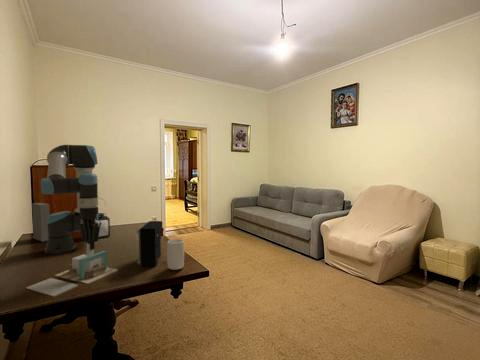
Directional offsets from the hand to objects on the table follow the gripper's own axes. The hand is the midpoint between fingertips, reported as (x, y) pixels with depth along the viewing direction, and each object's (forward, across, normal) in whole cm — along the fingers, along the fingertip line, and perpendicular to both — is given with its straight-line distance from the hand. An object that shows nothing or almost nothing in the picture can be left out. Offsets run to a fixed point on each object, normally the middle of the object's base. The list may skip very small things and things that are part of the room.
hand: (90, 256), depth 123 cm
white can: (+9, +33, +21) cm, 40 cm away
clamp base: (+9, -3, 0) cm, 9 cm away
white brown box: (+8, -3, 0) cm, 9 cm away
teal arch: (+9, +2, 0) cm, 9 cm away
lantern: (+9, -55, +50) cm, 75 cm away
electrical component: (+9, +14, +25) cm, 30 cm away
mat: (+9, -3, -16) cm, 18 cm away
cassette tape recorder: (+9, -84, +28) cm, 89 cm away
